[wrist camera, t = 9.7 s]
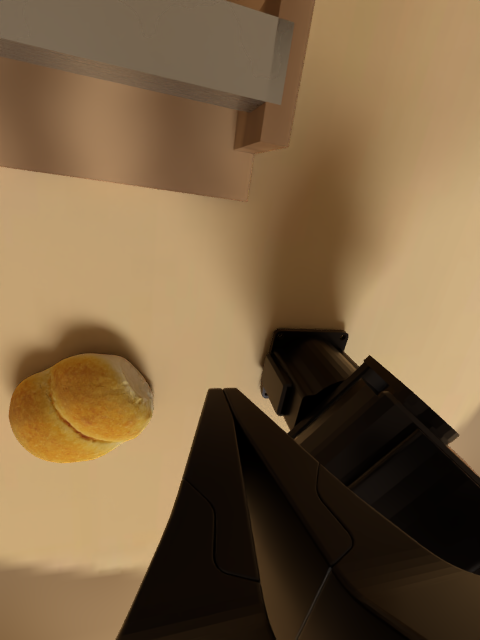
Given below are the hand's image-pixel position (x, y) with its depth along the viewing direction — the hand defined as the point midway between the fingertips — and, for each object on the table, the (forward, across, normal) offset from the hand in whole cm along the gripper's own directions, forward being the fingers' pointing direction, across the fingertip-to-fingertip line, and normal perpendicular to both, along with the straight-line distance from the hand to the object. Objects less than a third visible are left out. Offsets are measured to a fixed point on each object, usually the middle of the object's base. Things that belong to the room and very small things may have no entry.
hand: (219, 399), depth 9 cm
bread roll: (+13, +7, +10) cm, 18 cm away
